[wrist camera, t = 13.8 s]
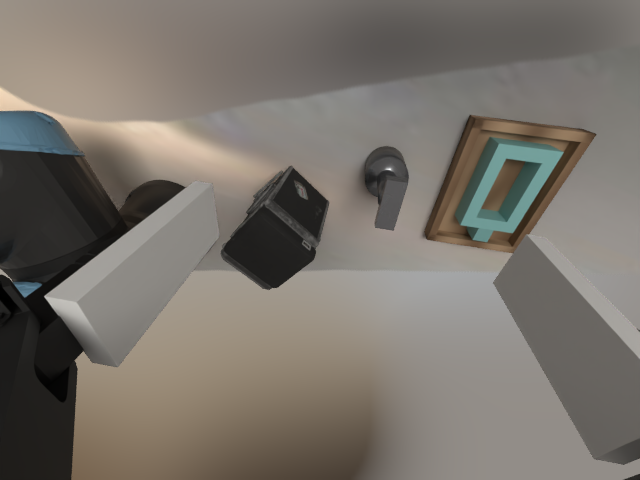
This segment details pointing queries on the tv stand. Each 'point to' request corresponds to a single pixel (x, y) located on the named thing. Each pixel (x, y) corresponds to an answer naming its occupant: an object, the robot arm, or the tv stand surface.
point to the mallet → (387, 184)
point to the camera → (278, 231)
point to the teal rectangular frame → (520, 194)
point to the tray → (502, 178)
